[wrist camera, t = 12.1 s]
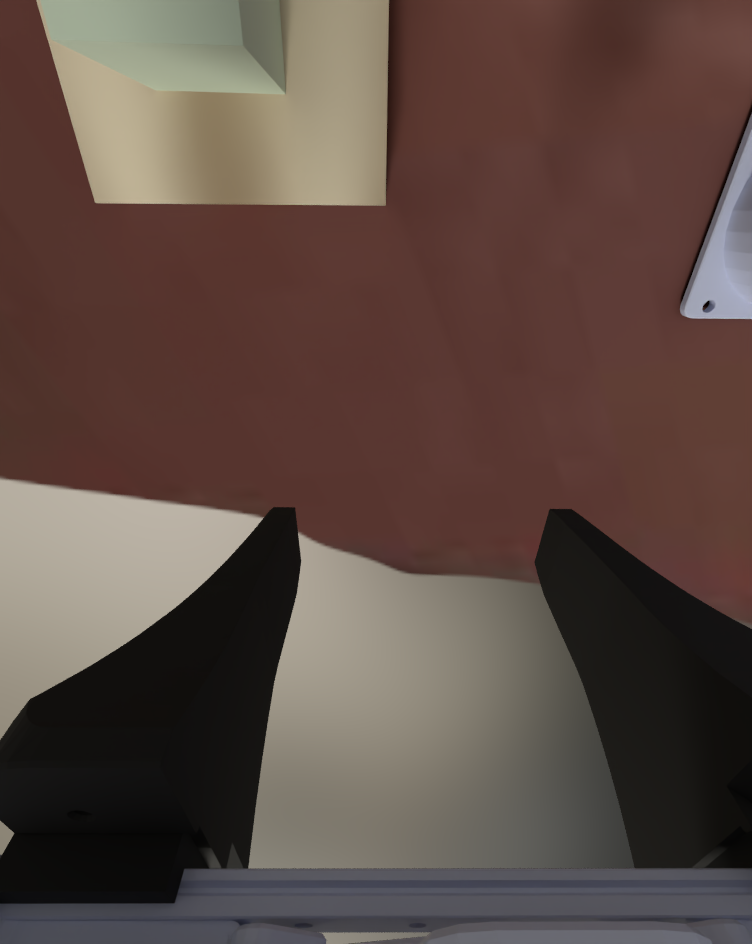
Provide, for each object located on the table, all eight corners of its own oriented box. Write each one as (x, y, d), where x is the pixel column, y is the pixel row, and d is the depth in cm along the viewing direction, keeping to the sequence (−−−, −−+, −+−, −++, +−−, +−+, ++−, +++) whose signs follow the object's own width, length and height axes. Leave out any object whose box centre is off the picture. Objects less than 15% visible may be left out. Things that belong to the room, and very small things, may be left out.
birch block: (390, -217, 12) (394, -331, 9) (384, 205, 17) (385, 205, 15) (32, -221, 12) (-62, -338, 9) (136, 203, 17) (95, 203, 15)
